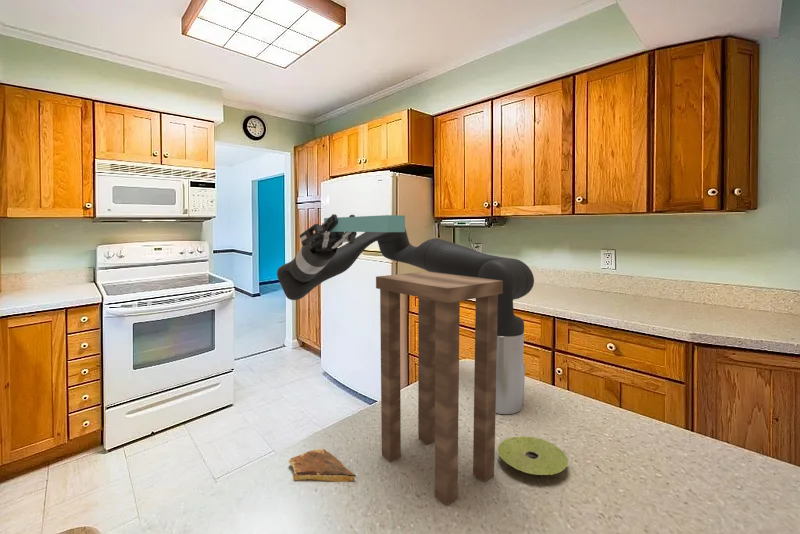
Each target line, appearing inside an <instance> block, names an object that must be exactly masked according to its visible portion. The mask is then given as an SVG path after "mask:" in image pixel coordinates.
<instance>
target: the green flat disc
mask: <svg viewBox="0 0 800 534" xmlns="http://www.w3.org/2000/svg"><path fill="white" fill-rule="evenodd" d="M497 453H498V455H499V457H500V458H501V459H502V461H503V462H505V464H507V465H509V466H510V467H512V468H514V469H516V470H518V471H521V472H523V473H526V474H530V475H536V476H538V475H540V476H543V475H544V476H545V475H546V476H549V475H556V474H557V475H558V474H559V473H561V472H563V471H565V470H566V468H567V466H568V463H569V459H568V457H567V455H566V453H565V452H564V451H563V450H562V449H561V448H559V447H558V446H557V445H555V444H553V443H551V442H550V441H547V440H545V439H542V438H538V437H532V436H531V437H530V436H513V437H509V438H505V439H504V440H502V441H501V442H500V443H499V445H498V446H497Z"/></svg>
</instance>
